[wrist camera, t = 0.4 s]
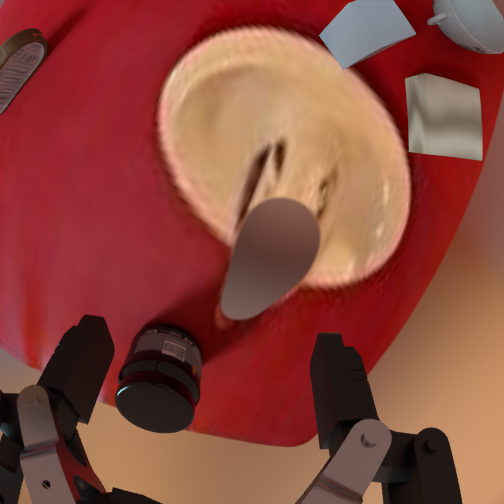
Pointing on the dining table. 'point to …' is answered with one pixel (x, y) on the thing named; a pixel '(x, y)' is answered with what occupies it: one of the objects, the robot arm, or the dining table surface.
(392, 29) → the pale blue tall cuboid
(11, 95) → the tin
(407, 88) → the birch block
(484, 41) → the teacup
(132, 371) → the supplement container
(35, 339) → the dining table surface
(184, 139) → the dining table surface
